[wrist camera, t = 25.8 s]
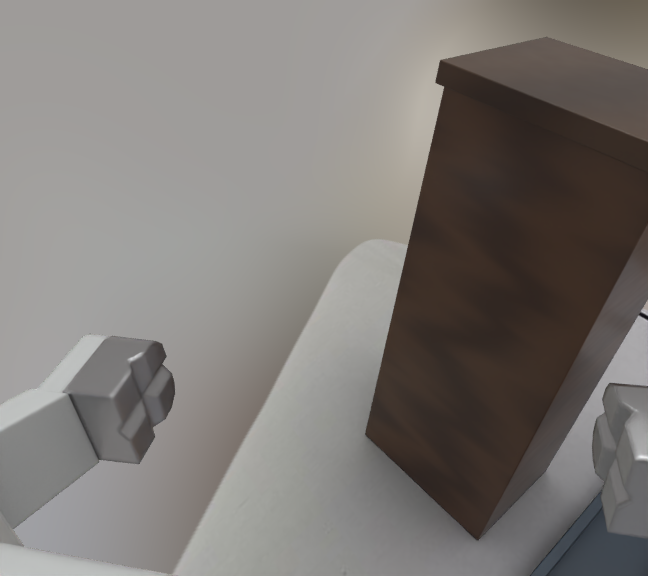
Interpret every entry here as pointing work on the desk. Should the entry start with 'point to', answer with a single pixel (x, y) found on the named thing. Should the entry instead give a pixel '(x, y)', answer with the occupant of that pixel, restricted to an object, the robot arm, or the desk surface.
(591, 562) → the tray
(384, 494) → the desk surface
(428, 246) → the stand
